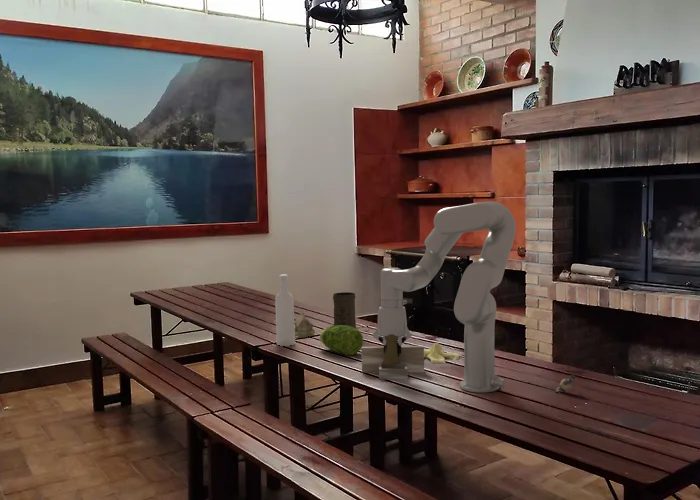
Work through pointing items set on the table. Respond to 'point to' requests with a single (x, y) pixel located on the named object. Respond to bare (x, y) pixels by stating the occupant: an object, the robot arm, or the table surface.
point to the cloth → (439, 354)
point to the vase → (566, 383)
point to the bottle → (284, 314)
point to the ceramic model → (303, 326)
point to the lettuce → (342, 339)
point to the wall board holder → (408, 363)
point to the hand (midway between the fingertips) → (392, 355)
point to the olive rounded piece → (391, 351)
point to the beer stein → (344, 309)
